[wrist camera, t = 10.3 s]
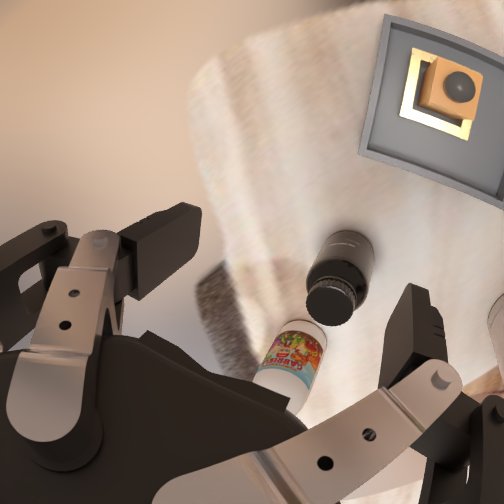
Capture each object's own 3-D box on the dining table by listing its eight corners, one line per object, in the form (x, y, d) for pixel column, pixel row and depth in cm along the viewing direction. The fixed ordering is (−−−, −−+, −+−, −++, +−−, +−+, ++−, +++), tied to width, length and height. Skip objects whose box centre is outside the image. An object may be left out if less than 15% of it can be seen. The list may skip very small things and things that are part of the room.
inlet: (472, 77, 23) (481, 73, 20) (459, 138, 27) (467, 140, 24) (409, 53, 25) (412, 47, 22) (398, 115, 29) (399, 115, 26)
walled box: (525, 79, 20) (537, 76, 17) (496, 202, 28) (505, 211, 25) (384, 22, 25) (384, 13, 22) (359, 150, 33) (357, 154, 30)
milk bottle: (334, 353, 46) (295, 461, 30) (291, 359, 50) (242, 457, 34) (316, 314, 45) (267, 424, 28) (272, 323, 49) (210, 421, 32)
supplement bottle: (352, 218, 37) (337, 262, 27) (384, 261, 37) (379, 317, 27) (311, 247, 41) (282, 296, 31) (342, 286, 41) (323, 344, 31)
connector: (456, 85, 24) (488, 73, 15) (449, 118, 26) (479, 121, 17) (423, 72, 25) (441, 53, 16) (416, 105, 27) (432, 101, 18)
